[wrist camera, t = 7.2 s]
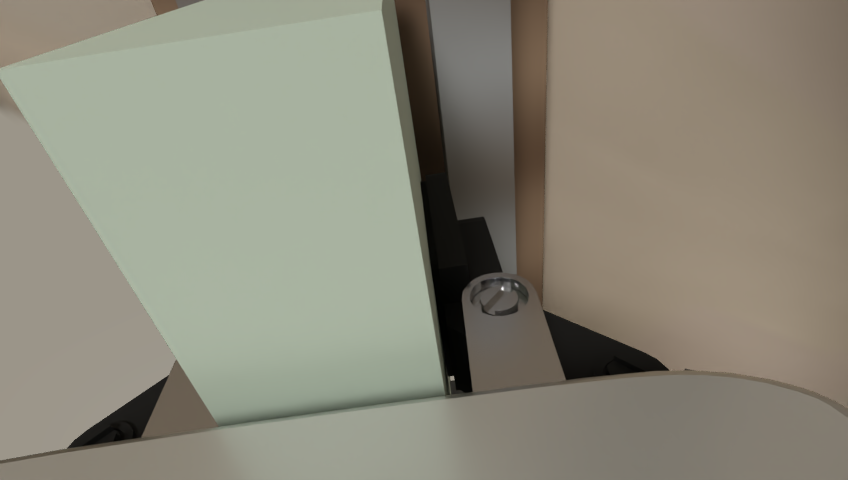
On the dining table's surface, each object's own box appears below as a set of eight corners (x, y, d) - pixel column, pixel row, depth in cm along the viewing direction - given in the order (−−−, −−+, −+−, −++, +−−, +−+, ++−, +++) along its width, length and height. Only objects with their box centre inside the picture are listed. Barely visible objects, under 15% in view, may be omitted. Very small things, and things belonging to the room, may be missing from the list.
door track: (81, -215, 11) (-10, -257, 8) (540, -293, 11) (586, -360, 8) (308, 355, 22) (298, 408, 20) (535, 324, 22) (554, 374, 19)
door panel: (287, -28, 11) (-6, 70, 3) (403, -47, 11) (444, 0, 3) (378, 325, 18) (367, 663, 10) (452, 314, 18) (506, 646, 9)
